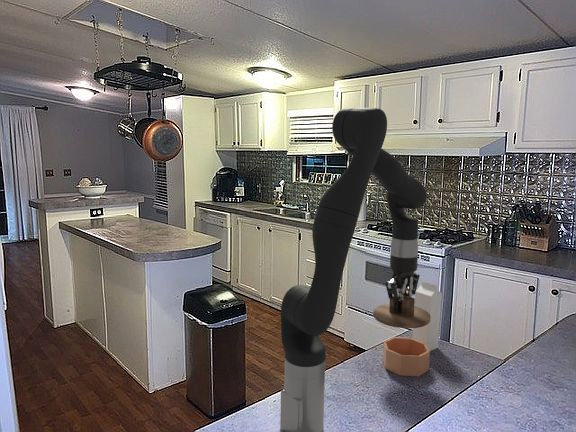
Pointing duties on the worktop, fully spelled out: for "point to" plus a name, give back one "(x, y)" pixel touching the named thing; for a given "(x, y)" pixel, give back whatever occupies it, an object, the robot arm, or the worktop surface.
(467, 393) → the worktop surface
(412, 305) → the lid
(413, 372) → the bowl
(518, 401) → the worktop surface
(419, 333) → the milk
